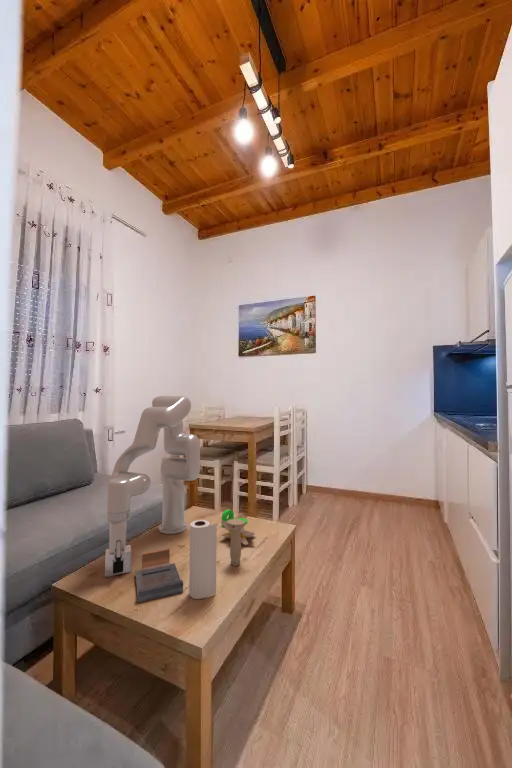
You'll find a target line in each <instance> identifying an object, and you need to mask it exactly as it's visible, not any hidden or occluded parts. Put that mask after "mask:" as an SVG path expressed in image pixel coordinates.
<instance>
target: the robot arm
mask: <svg viewBox="0 0 512 768" xmlns="http://www.w3.org/2000/svg"><path fill="white" fill-rule="evenodd" d="M191 408H192V402H191V400H190V398H188V397H187V396H183V395H160V396H155V397H154V398H153V399H152V401H151V406H149V407H146V408H145V409H143V411H142V413H141V415H140V418H139V422H138V425H137V428H136V432H135V436H134V439H133V442H132V444H131V445H129V446H128V448H127V449H126V450H124V451H123V453H121V454H120V456H119V457H118V459H117V460H116V462H115V464H114V465H113V466H114V467H113V471H112V474H111V477H110V480H108V482H107V485H106V486H107V487H106V493H107V494H106V523H109V542H108V543H109V544H108V545H109V546H108V547H109V548H108V549H109V553H110V554H111V553H114V561H113V574H115V573H120V572H123V552H124V551H125V546H126V543H127V526H128V525H127V522H128V521H129V520H131V508H132V507H131V503H132V500H131V498H132V497H136V496H140V495H143V494H145V493H146V492H147V491H148V490H149V489H150V486H151V478H150V476H149V475H147V474H145V473H140V472H131V471H130V472H129V469H130V466H131V464H132V463H133V462H134V461H135V460H136V459H137V458H139V457H140V456H144V455H145V454H147V453H150V452H152V451H154V450H155V449H156V446H157V443H158V439H159V435H160V431H161V429H163V449H164V451H165V453H166V454H167V455H168V454H169V455H174V456H171V457H170V456H169V457H166V458H164V459H163V460H162V462H161V464H160V474H161V475H160V476H161V481H162V519H161V520H162V523H161V524H159V526H158V531H159V532H160V533H161V534H165V535H175V534H176V535H177V534H180V533H183V532H185V531H186V530H188V523H187V522H186V521H185V492H186V491H185V485H184V483H183V481H188V482H189V481H196V480H197V478H198V477H199V475H200V471H201V452H200V451H201V446H200V443H201V442H200V440H199V438H198V436H197V435H195V434H193V433H184V432H185V431H184V421H183V420H184V419H185V418H187V416H188V415H189V413H191V412H190V411H191ZM176 455H177V456H178V457H177V456H176ZM179 456H180V457H179ZM181 456H185V457H181ZM121 549H122V550H121ZM115 550H117V551H115ZM120 553H121V555H120ZM116 554H117V556H116Z"/></svg>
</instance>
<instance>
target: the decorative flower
mask: <svg viewBox="0 0 512 768" xmlns="http://www.w3.org/2000/svg"><path fill="white" fill-rule="evenodd" d="M220 523H221V525H222V524H223V526H224V527H223V526H222V527H223V528H225V529H226V530H227V531H228V532H225V533H223V534H220V536H222V537H225V538H227V539H231V528H230V527H228V526H227V522H226V521H222V520H221V521H220ZM240 536H241V544H242V545H249V542H248V540H247V538H251V537H254V536H256V533H255V532H252V531H249V530H245V526H244V527H243V528H241V529H240Z"/></svg>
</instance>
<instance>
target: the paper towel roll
mask: <svg viewBox="0 0 512 768" xmlns="http://www.w3.org/2000/svg"><path fill="white" fill-rule="evenodd" d="M217 525H218V524H217V523H215V524H211V522H210V521H208V520H205V519H197V520H193V521H192V522H190V523H189V579H188V580H189V583H188V584H189V586H188V590H189V591H188V593H189V597H190V598H191V599H194V600H201V599H206V598H208V597H210V596H212V595H215V594H217V546H218V545H217V536H218V535H217V529H218V527H217Z"/></svg>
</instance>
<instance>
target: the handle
mask: <svg viewBox="0 0 512 768" xmlns="http://www.w3.org/2000/svg"><path fill="white" fill-rule="evenodd" d="M245 525H246V524H245V521H243V520H239V518H234V519H230V520H228V521H227V526H228V527H230V528H231V538H230V543H229V544H230V545H229V556H230V557H229V558H230V565H231V566H233V567H236V566H239V565H240V564H241V556H242V542H241V536H240V529H241V528H243V527H244V528H245Z"/></svg>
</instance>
